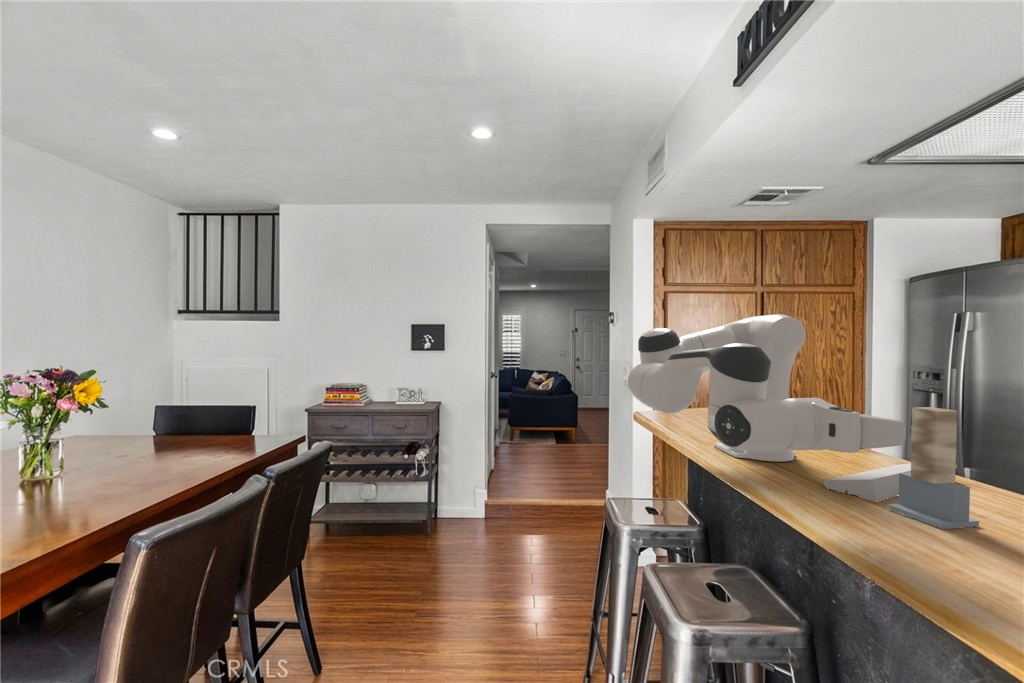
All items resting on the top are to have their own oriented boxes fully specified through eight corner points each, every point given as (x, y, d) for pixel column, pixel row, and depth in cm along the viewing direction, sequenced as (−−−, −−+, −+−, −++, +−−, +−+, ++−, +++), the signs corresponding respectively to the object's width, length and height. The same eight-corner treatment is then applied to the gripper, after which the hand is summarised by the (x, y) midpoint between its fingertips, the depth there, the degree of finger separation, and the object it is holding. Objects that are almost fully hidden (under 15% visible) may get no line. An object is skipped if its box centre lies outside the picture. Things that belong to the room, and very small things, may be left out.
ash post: (910, 477, 96) (912, 407, 95) (930, 476, 96) (931, 407, 96) (935, 483, 91) (937, 411, 91) (955, 482, 92) (957, 410, 92)
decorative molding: (828, 503, 111) (877, 504, 103) (822, 480, 112) (871, 479, 104) (907, 483, 127) (956, 483, 119) (902, 464, 128) (949, 462, 120)
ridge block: (888, 509, 98) (889, 473, 98) (922, 507, 100) (923, 471, 100) (942, 529, 88) (943, 488, 88) (979, 526, 90) (980, 486, 90)
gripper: (766, 430, 98) (827, 428, 101) (860, 455, 78) (932, 452, 81) (767, 397, 98) (828, 396, 101) (861, 414, 78) (933, 412, 81)
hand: (875, 421), depth 91 cm, fingers open, 8 cm apart
